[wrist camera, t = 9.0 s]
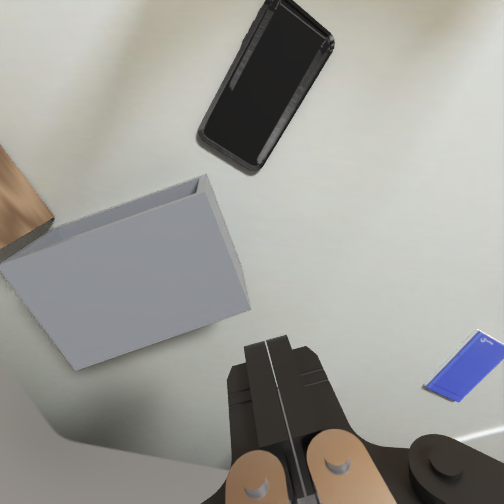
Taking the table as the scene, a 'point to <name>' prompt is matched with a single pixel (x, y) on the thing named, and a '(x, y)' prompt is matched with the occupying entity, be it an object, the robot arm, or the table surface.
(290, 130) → the table surface
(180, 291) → the storage box
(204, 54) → the table surface
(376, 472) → the robot arm
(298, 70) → the phone
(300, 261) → the table surface
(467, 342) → the hard drive
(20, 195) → the door
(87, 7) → the table surface
